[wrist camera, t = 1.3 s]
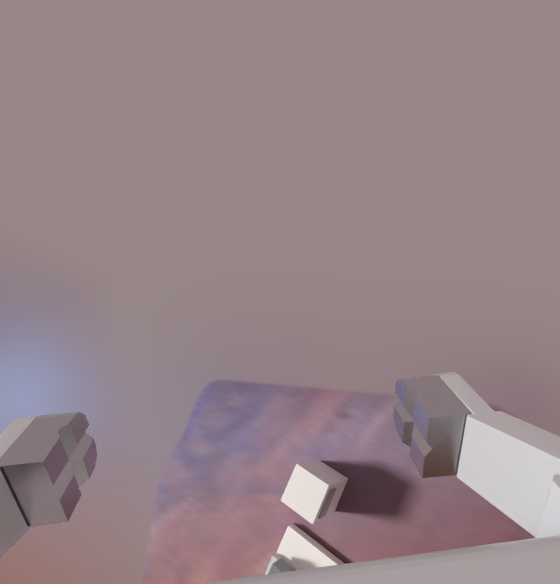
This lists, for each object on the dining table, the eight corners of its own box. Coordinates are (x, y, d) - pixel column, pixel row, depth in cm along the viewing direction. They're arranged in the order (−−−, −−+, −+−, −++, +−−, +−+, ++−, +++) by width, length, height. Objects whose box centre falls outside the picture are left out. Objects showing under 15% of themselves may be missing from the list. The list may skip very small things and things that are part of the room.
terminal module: (349, 479, 42) (330, 486, 35) (336, 512, 41) (314, 525, 35) (319, 460, 44) (296, 463, 38) (306, 491, 44) (280, 500, 37)
